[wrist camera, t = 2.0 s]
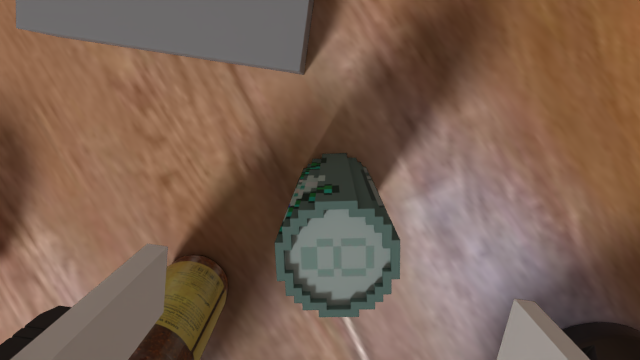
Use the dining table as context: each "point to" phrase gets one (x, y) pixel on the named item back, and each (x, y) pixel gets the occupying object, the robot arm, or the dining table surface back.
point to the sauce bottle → (186, 311)
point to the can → (337, 240)
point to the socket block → (183, 27)
